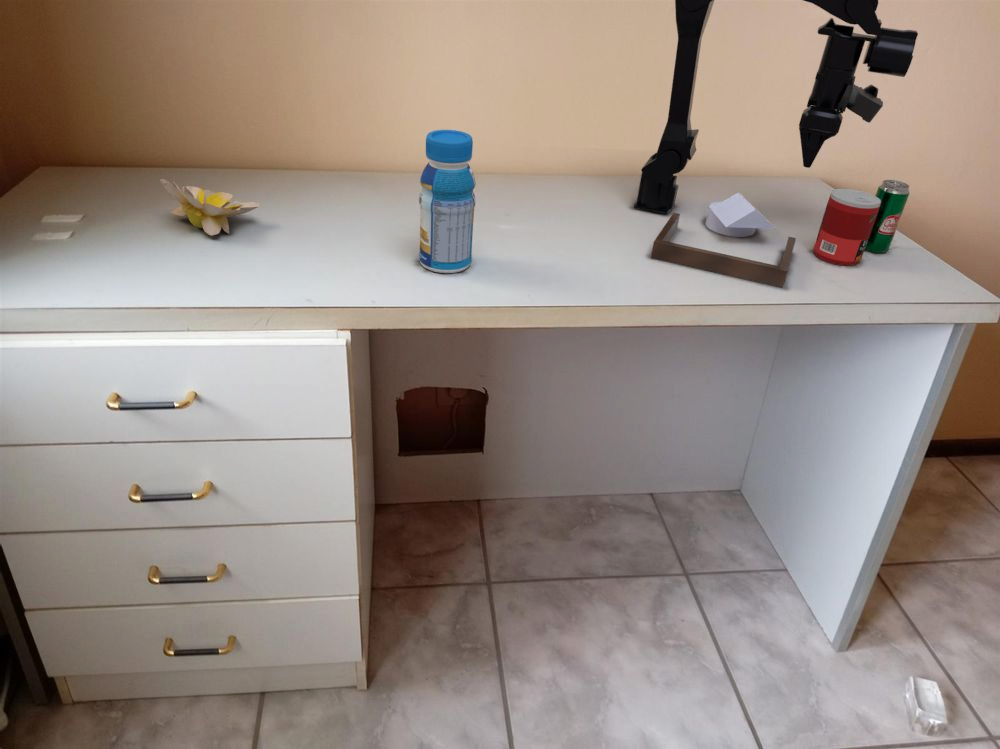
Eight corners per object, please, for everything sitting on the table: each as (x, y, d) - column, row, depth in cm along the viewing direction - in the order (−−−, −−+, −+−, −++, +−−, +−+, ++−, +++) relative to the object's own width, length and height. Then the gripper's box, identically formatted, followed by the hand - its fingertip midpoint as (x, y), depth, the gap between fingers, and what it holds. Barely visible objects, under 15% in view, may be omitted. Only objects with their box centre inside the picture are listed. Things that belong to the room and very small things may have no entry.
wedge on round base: (770, 246, 137) (745, 218, 148) (780, 210, 134) (753, 184, 144) (721, 245, 136) (699, 217, 147) (730, 208, 133) (707, 182, 144)
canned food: (864, 269, 132) (886, 207, 126) (815, 262, 133) (834, 200, 127) (855, 251, 138) (876, 192, 132) (809, 245, 139) (827, 185, 133)
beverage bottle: (451, 280, 117) (456, 148, 106) (407, 264, 121) (407, 135, 110) (482, 262, 124) (490, 135, 113) (439, 247, 127) (442, 123, 116)
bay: (650, 258, 129) (653, 241, 128) (670, 228, 141) (673, 212, 140) (782, 287, 123) (787, 270, 122) (791, 253, 135) (796, 237, 134)
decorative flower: (275, 220, 127) (254, 163, 121) (216, 252, 122) (191, 194, 115) (229, 200, 136) (207, 146, 130) (171, 229, 130) (145, 174, 124)
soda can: (874, 255, 137) (898, 190, 131) (852, 244, 141) (874, 180, 134) (894, 252, 139) (918, 187, 133) (871, 241, 143) (893, 177, 136)
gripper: (889, 85, 118) (855, 185, 127) (889, 66, 133) (858, 156, 141) (814, 73, 121) (785, 170, 130) (822, 55, 136) (796, 144, 144)
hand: (808, 160), depth 136 cm, fingers open, 9 cm apart
